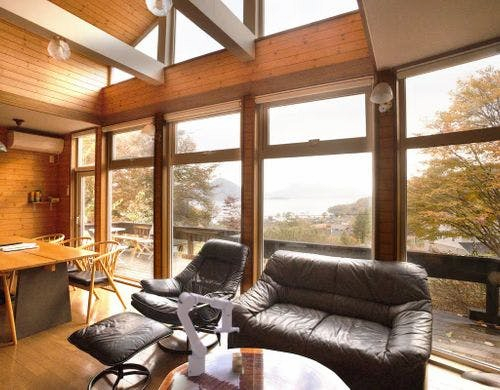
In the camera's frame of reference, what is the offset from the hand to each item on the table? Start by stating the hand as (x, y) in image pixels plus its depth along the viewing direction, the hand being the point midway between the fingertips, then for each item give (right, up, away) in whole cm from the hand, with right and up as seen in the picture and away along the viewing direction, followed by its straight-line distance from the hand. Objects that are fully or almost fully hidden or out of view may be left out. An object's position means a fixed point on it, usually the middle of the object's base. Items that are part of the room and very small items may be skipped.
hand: (226, 345), depth 173 cm
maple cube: (+7, -6, -9) cm, 12 cm away
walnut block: (+7, -10, -9) cm, 15 cm away
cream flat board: (+7, -10, -8) cm, 15 cm away
